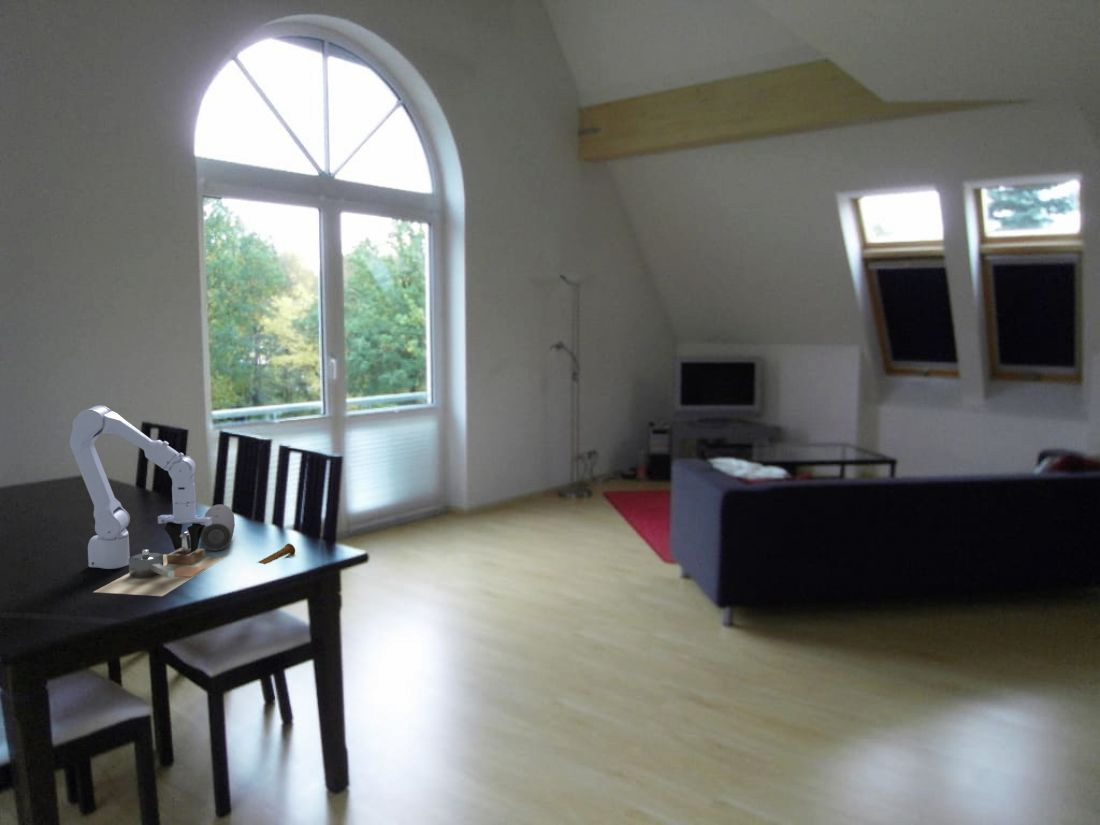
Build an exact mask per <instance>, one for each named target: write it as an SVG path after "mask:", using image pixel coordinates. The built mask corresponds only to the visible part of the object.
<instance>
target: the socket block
mask: <svg viewBox="0 0 1100 825" xmlns="http://www.w3.org/2000/svg"><path fill="white" fill-rule="evenodd" d="M166 555H167V564H177V565H193V564H195V563H196V562H198V561H200V560H202V559H203V558H205V557H206V548H199V547H198V549H196V550H195V551H191V553H190V554H182V553H181V548H180V549H178V550H174V551H172V552H170V553H168V554H166Z"/></svg>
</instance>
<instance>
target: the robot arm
mask: <svg viewBox="0 0 1100 825" xmlns="http://www.w3.org/2000/svg"><path fill="white" fill-rule="evenodd" d="M101 433H102V434H116V435H118V436H120V437H122V438H123V439H125V440H127V441H128V442H130V443H132V444H133V445H135V446H136V447H138V448H139V449H140V450H143V452H144V456H145V458H146V459H147V460H149V461H151V462H152V463H154V464H155V465H157V466H158V467H159V468H161V469H163V470H164V471H166V472H168V475H169V477H170V478H171V482H172V485H171V495H172V497H171V498H172V514H161V515H159V516H157V524H161V525H162V524H166V525H165V526H164V530H165V532H166V533H167V535H168V536H169V539H170V540H171V542H172V546H173V549H174V551H176V550H178V549H180V548H181V537H180V535H181V534H182V528H183V525H190V526H187V531H188V532H189V535H190V543H191V551H195V550H196V549H198V548H199V543H200V541H201V540H200V536H201V534H202V532H203V530H204V528H205V526H209V525H211V524H212V517H204V516H205V515H204V516H203V515H198V514H197V508H196V507H197V506H196V505H197V501H196V484H195V475H194V473H195V472H196V468H197V466H196V462H195V460H194V459H193V458H192V457H191V456H188V455H184V453H183V452H178V451H177V450H176V449H174V448H172V447H171V446H169V444H170V443H169V442H168V441H166V440H164V441H162V440H161V439H157V440H153V439H151V438H150V437H149V436H148V435H146V434H145V433H143V432H142V431H141V430H139V429H138V428H136V427H135V426H134V425H133V424H131V423H130V422H128V421H127V420H126V419H125V418H123V417H122V416H121V415H119V413H117V412H116V411H113V410H111V409H110V408H108V407H107V406H105V405H102V404H101V405H100V404H99V405H95V406H92V407H90V408H89V409H84V410H81V411H80V412H79V413H78V414H77V416H76V417H75V418H74V419H73V421H72V429H71V435H70V439H69V447H70V449H71V452H72V454H73V457H74V459H75V462H76V464H77V467H78V470H79V472H80V474H81V476H82V479H83V482H84V484H85V487H86V490H87V492H88V494H89V497H90V499H91V501H92V504H93V518H94V521H95V524H94V531H95V533H96V535H93V536H92V537H91V538H89V541H88V545H87V560H88V567H89V568H98V569H99V568H100V569H106V570H107V569H108V570H111V569H113V570H114V569H120V568H124V567H126V566H129V558H130V557H131V556H130V555H131V554H130V539H129V538H130V537H129V531H128V530H127V527H128V526H129V524H130V521H131V517H130V514H129V512H128V511H127V510H126V509H124V508H123V506H122V504H121V502H120V500H118V499H117V498H116V497H115V495H114V491H113V490H112V487H111V484H110V482H109V480H108V477H107V474H106V471H105V469H104V467H103V464H102V461H101V460H100V456H99V454H98V451H97V449H96V447H95V442H96V441H97V439H98V437H100V435H101Z"/></svg>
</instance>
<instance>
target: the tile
mask: <svg viewBox="0 0 1100 825" xmlns="http://www.w3.org/2000/svg"><path fill="white" fill-rule="evenodd" d="M204 569H205V568H204V567H186V566H180V567H178V568H177V569H175V570H174V576H175V577H192V576H194V575H196V574H197V573H199V572H201V571H202V570H204ZM204 571H205V570H204ZM201 573H202V572H201ZM196 576H197V575H196Z"/></svg>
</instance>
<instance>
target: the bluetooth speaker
mask: <svg viewBox="0 0 1100 825" xmlns="http://www.w3.org/2000/svg"><path fill="white" fill-rule="evenodd" d="M204 517H212V524H211V525H209V526H205V528H204V530H203V532H202V534H201V536H200V540H199V541H200V542H201V545H202V546H203V547H204V549H205V550H208V551H212V552H217V551H222V550H224V549H226V548H227V547H228V546H229V545H230V543H231V541H232V539H233V535H234V532H235V525H236V523H235V515H234V512H233V511H232V509H231V507H229V506H227V505H225V504H219V503H218V504H215V505H213V506H211V507H209V508H208V509H207V511H206V512H205V514H204Z"/></svg>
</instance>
